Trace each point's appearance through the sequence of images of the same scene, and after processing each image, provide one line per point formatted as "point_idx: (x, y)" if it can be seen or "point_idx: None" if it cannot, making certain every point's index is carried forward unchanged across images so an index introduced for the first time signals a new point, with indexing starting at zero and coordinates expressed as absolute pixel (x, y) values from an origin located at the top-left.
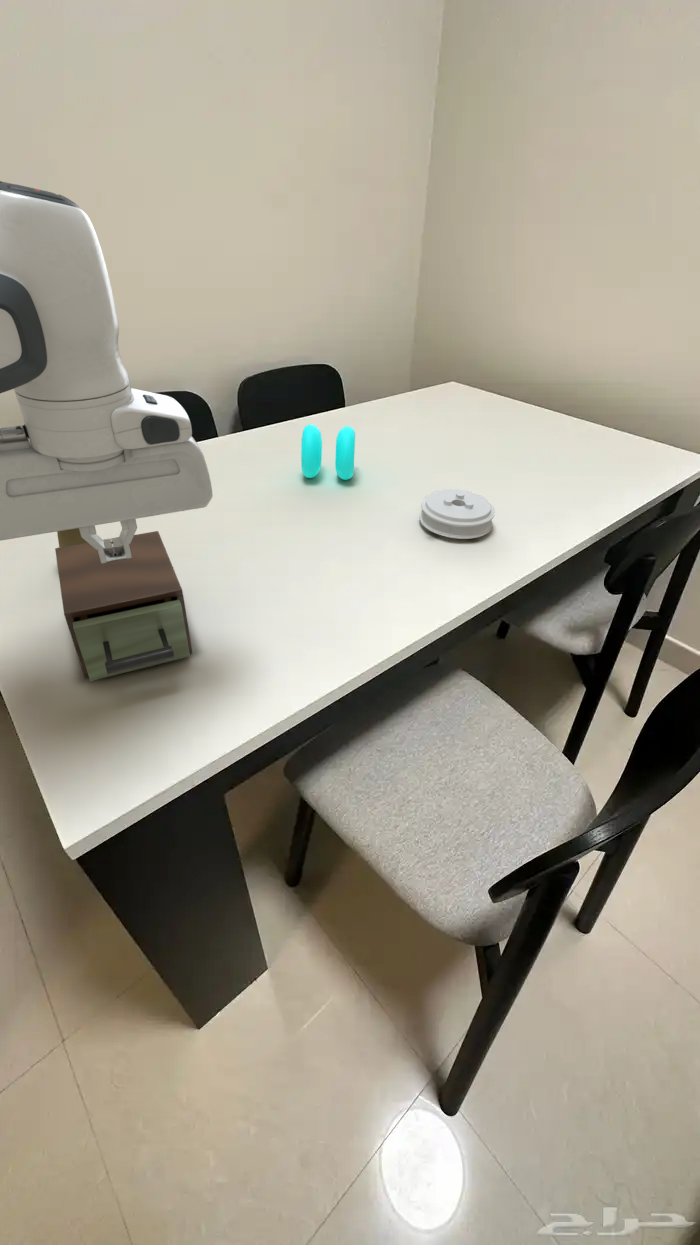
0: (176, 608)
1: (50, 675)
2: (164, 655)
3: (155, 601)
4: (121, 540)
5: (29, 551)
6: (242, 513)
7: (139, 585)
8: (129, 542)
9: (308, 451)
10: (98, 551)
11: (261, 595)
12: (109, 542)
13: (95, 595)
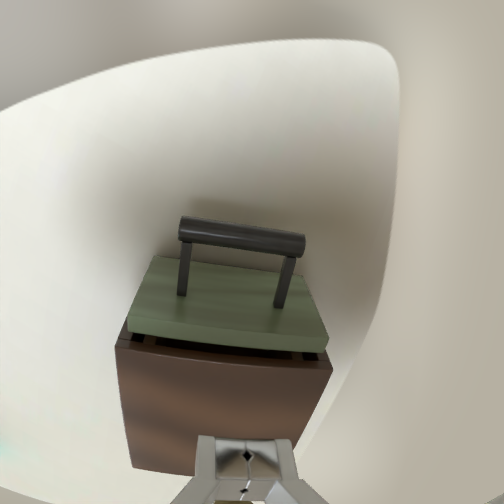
0: (138, 312)
1: (334, 314)
2: (198, 221)
3: None
4: (215, 492)
5: None
6: (51, 444)
7: (188, 389)
8: (193, 482)
9: None
10: (297, 473)
11: (37, 326)
12: (251, 492)
13: (268, 394)
